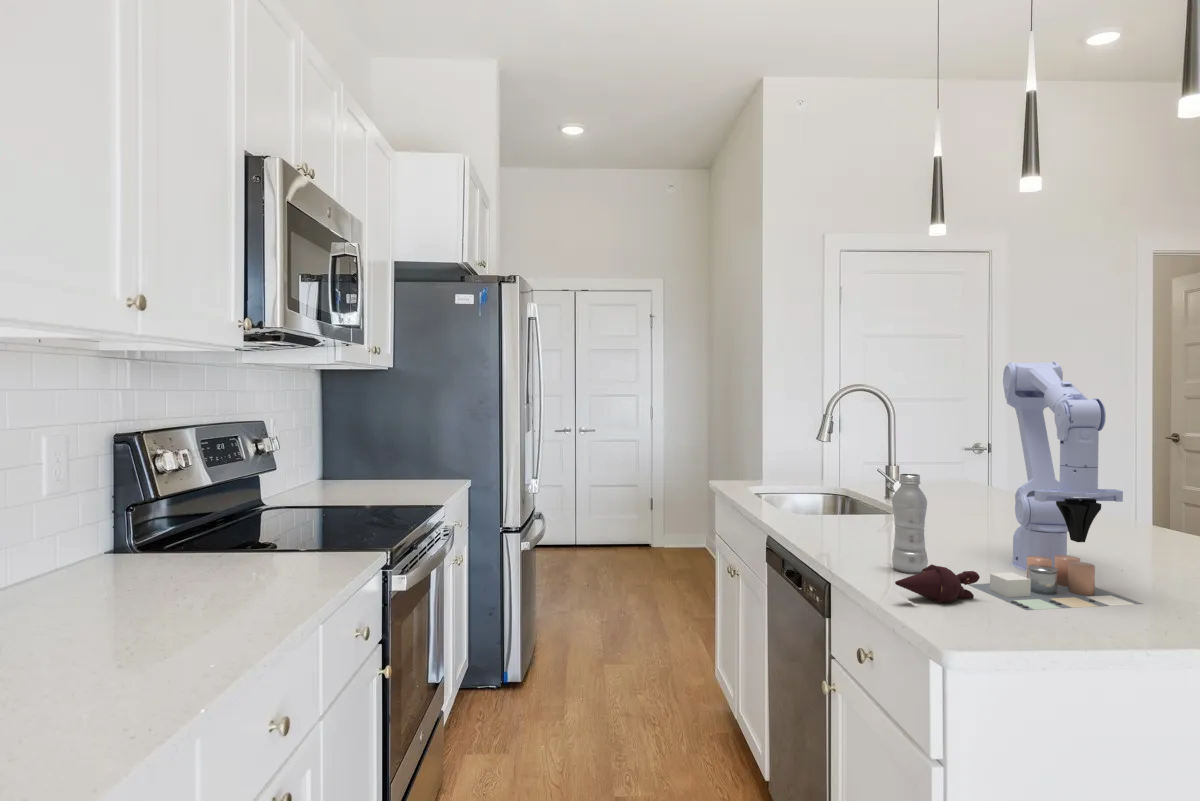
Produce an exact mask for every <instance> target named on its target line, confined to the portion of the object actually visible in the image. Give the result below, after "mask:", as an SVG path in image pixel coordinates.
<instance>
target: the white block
mask: <svg viewBox="0 0 1200 801" xmlns="http://www.w3.org/2000/svg"><path fill="white" fill-rule="evenodd" d="M989 583H990V590H991V591H994V592H996V593H998V594H1001V595H1003V596H1006V597H1023V596H1031V579H1028V578H1027V576H1026V577H1025V576H1022V575H1021V574H1017V573H1015V572H997V573H995V572H994V573H989Z"/></svg>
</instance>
